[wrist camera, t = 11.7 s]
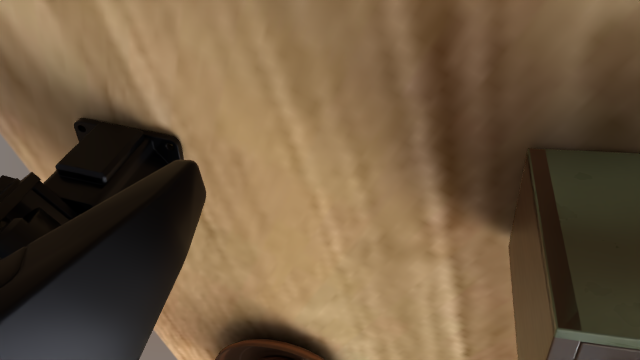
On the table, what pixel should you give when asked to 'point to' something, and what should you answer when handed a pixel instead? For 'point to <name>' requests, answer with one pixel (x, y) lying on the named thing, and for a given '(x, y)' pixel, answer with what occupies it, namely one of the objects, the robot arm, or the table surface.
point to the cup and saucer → (265, 351)
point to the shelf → (577, 256)
